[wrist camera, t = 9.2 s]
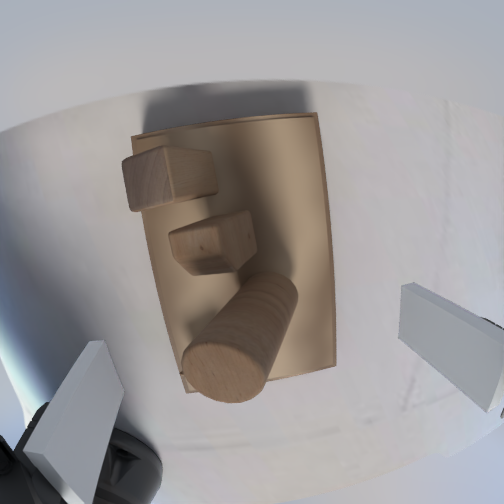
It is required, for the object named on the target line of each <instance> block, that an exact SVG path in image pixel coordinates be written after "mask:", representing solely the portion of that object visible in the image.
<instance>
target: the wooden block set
mask: <svg viewBox="0 0 504 504" xmlns="http://www.w3.org/2000/svg"><path fill="white" fill-rule="evenodd" d="M122 170H123V176H124V182H125V187H126V193H127V198H128V203H129V208H130V210H131V211H133V212H139V211H143V210H148V209H152V208H157V207H161V206H166V205H170V204H175V203H180V202H185V201H189V200H194V199H198V198H203V197H208V196H212V195H216V194H217V193H218V192H219V188H218V183H217V178H216V173H215V167H214V162H213V157H212V153H211V152H210V151H207V150H199V149H192V148H183V147H175V146H165V145H161V146H158V147H155V148H152V149H149V150H147V151H144V152H141V153H138V154H136V155H133V156H130V157H128V158H126V159H124V160H123V161H122ZM168 238H169V242H170V246H171V251H172V255H173V257H174V259H175V260H176V261H177V262H178V263H179V264H180V265H181V266H182V267H183V268H184V269H185V270H186V271H187V272H188V273H189V274H191V275H192V276H201V275H211V274H222V273H232V272H235V271H237V270H238V269H239V268H240V267H241V266H243V265H244V264H245V263H246V262H247V261H248V260H249V259H250V258H251V257H252V256H254V255H255V254H256V253H257V244H256V239H255V234H254V228H253V223H252V218H251V213H250V212H249V211H247V210H245V211H239V212H233V213H228V214H222V215H216V216H212V217H209V218H206V219H203V220H200V221H197V222H194V223H192V224H189V225H186V226H183V227H180V228H178V229H175V230H172V231H170V232H169V233H168ZM297 303H298V291H297V288H296V286H295V285H294V284H293V282H292V281H291V280H290V279H288V278H287V277H285V276H284V275H282V274H279V273H275V272H263V273H258V274H256V275H254V276H252V277H251V278H249V279H248V281H247V282H246V283H245V284H244V285H243V286H242V287H241V288H240V289H239V291H238V292H237V293H236V294H235V295H234V296H233V297H232V298H231V299H230V300H229V301H228V303H227V304H226V305H225V306H224V307H223V308H222V309H221V310H220V311H219V312H218V314H217V315H216V316H215V317H214V318H213V319H212V320H211V321H210V322H209V323H208V324H207V325H206V327H205V328H204V329H203V330H202V331H201V332H200V333H199V334H198V335H197V336H196V337H195V338H194V340H193V341H192V342H191V343H190V344H189V345H188V346H187V347H186V349H185V350H184V351H183V355H182V359H181V366H182V371H181V372H180V375H183V376H185V377H186V379H187V381H188V382H189V383H190V384H191V385H192V386H193V388H194V389H195V390H197V391H198V392H200V393H201V394H203V395H204V396H206V397H209V398H211V399H213V400H216V401H220V402H225V403H241V402H244V401H247V400H250V399H252V398H254V397H255V396H256V395H258V394H259V393H260V392H261V391H262V389H263V387H264V385H265V383H266V381H267V379H268V376H269V374H270V371H271V369H272V367H273V364H274V362H275V359H276V357H277V355H278V352H279V350H280V347H281V345H282V342H283V340H284V337H285V335H286V332H287V329H288V327H289V324H290V322H291V319H292V317H293V314H294V311H295V309H296V306H297Z"/></svg>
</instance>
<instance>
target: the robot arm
mask: <svg viewBox="0 0 504 504" xmlns="http://www.w3.org/2000/svg"><path fill="white" fill-rule="evenodd" d="M398 338H399V339H400V340H401V341H403V342H404V343H405V344H406V345H407V346H409V347H410V348H411V349H412V350H413V351H415V352H416V353H417V354H418V355H419V356H421V357H422V358H423V359H424V360H425V361H427V362H428V363H429V364H430V365H431V366H432V367H434V368H435V369H436V370H437V371H438V372H440V373H441V374H442V375H443V376H444V377H445V378H447V379H448V380H449V381H450V382H451V383H452V384H454V385H455V386H456V387H457V388H458V389H459V390H461V391H462V392H463V393H464V394H465V395H466V396H467V397H469V398H470V399H471V400H472V401H473V402H474V403H476V404H477V405H478V406H479V407H480V408H481V409H482V410H483V411H485V412H486V413H488V412H489V411H491V410H492V409H494V408H495V407H496V406H498V405H499V404H500V401H501V399H502V396H503V394H504V328H503V329H502V327H501V326H499V325H495V323H493V322H492V321H490V320H488V319H486V318H482V317H479V316H477V315H475V314H474V313H472V312H470V311H468V310H466V309H464V308H462V307H460V306H459V305H457V304H455V303H453V302H451V301H449V300H447V299H445V298H443V297H441V296H440V295H438V294H436V293H434V292H432V291H430V290H428V289H426V288H424V287H422V286H420V285H418V284H416V283H414V282H413V283H410V284H406V285H402V286H401V305H400V322H399V335H398ZM124 392H125V391H124V389H123V386H122V384H121V382H120V379H119V377H118V374H117V372H116V369H115V367H114V364H113V361H112V359H111V356H110V353H109V351H108V348H107V345H106V342H105V340H97V341H89V342H88V344H87V345H86V347H85V348H84V350H83V351H82V353H81V354H80V356H79V357H78V359H77V360H76V362H75V363H74V365H73V366H72V368H71V370H70V371H69V373H68V374H67V376H66V377H65V379H64V381H63V382H62V384H61V385H60V387H59V389H58V390H57V392H56V393H55V395H54V397H53V398H52V400H51V402H46V403H45V404H44V405H43V406H41V407H40V408H39V409H38V410H37V411H36V413H35V415H34V416H33V418H32V421H30V423H29V425H28V426H27V427H28V429H26V430H25V432H24V433H23V435H22V437H21V438H20V440H19V442H18V444H17V445H16V447H15V449H14V451H12V449H11V448H10V446H9V445H8V444H7V442H6V441H5V439H4V438H3V437H2V436H1V435H0V504H150V503H151V501H152V500H153V498H154V496H155V495H156V493H157V491H158V490H159V488H160V485H161V481H162V472H163V469H162V465H161V462H160V460H159V459H158V457H157V456H156V455H155V453H154V452H153V451H152V450H151V449H150V448H148V447H147V446H146V445H145V444H143V443H142V442H140V441H139V440H137V439H136V438H134V437H132V436H130V435H128V434H126V433H124V432H122V431H120V430H117V429H115V428H113V426H114V423H115V420H116V417H117V414H118V411H119V408H120V405H121V401H122V398H123V395H124ZM503 417H504V409H503V411H502V413H501V418H503Z"/></svg>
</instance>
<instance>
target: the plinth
mask: <svg viewBox="0 0 504 504" xmlns="http://www.w3.org/2000/svg"><path fill="white" fill-rule="evenodd" d="M131 141H132V150H133V155H136V154H138V153H141V152H144V151H147V150H149V149H152V148H155V147H158V146H161V145H165V146H175V147H183V148H192V149H199V150H207V151H210V152H211V153H212V157H213V162H214V167H215V173H216V178H217V183H218V188H219V192H218V193H217V194H216V195H212V196H208V197H203V198H198V199H194V200H189V201H185V202H180V203H175V204H170V205H166V206H161V207H157V208H152V209H148V210H143V211H141V213H142V218H143V224H144V230H145V235H146V240H147V245H148V250H149V255H150V260H151V265H152V270H153V274H154V279H155V283H156V287H157V292H158V296H159V300H160V304H161V308H162V312H163V316H164V320H165V324H166V327H167V331H168V335H169V338H170V342H171V346H172V349H173V352H174V356H175V359H176V363H177V366H178V369H179V373H180V372H181V371H182V366H181V359H182V355H183V351H184V350H185V349H186V347H187V346H188V345H189V344H190V343H191V342H192V341H193V340H194V338H195V337H196V336H197V335H198V334H199V333H200V332H201V331H202V330H203V329H204V328H205V327H206V325H207V324H208V323H209V322H210V321H211V320H212V319H213V318H214V317H215V316H216V315H217V314H218V312H219V311H220V310H221V309H222V308H223V307H224V306H225V305H226V304H227V303H228V301H229V300H230V299H231V298H232V297H233V296H234V295H235V294H236V293H237V292H238V291H239V289H240V288H241V287H242V286H243V285H244V284H245V283H246V282H247V281H248V279H249V278H251V277H252V276H254V275H256V274H258V273H263V272H275V273H279V274H282V275H284V276H285V277H287V278H288V279H290V280H291V281H292V282H293V284H294V285H295V286H296V288H297V291H298V303H297V306H296V309H295V311H294V314H293V317H292V319H291V322H290V324H289V327H288V329H287V332H286V335H285V337H284V340H283V342H282V345H281V347H280V350H279V352H278V355H277V357H276V359H275V362H274V364H273V367H272V369H271V371H270V374H269V376H268V379H267V381H266V382H268V381H273V380H278V379H283V378H288V377H292V376H297V375H301V374H306V373H310V372H314V371H318V370H322V369H326V368H330V367H334V366H336V305H335V281H334V263H333V248H332V234H331V222H330V211H329V201H328V191H327V182H326V173H325V165H324V157H323V149H322V142H321V135H320V128H319V122H318V115H317V112H315V113H292V114H277V115H264V116H253V117H244V118H235V119H227V120H219V121H212V122H205V123H198V124H192V125H186V126H180V127H174V128H169V129H164V130H159V131H154V132H149V133H144V134H140V135H135V136H131ZM245 210H247V211H249V212H250V213H251V218H252V223H253V228H254V234H255V239H256V244H257V253H256V254H255V255H254V256H252V257H251V258H250V259H249V260H248V261H247V262H246V263H245V264H244V265H243V266H241V267H240V268H239V269H238V270H237V271H235V272H232V273H222V274H211V275H201V276H192V275H191V274H189V273H188V272H187V271H186V270H185V269H184V268H183V267H182V266H181V265H180V264H179V263H178V262H177V261H176V260H175V259H174V257H173V255H172V251H171V246H170V242H169V238H168V233H169V232H170V231H172V230H175V229H178V228H180V227H183V226H186V225H189V224H192V223H194V222H197V221H200V220H203V219H206V218H209V217H212V216H216V215H222V214H228V213H233V212H239V211H245ZM180 376H181V379H182V382H183V385H184V388H185V391H186V393H195V392H198V391H197V390H195V389H194V388H193V386H192V385H191V384H190V383H189V382H188V381H187V379H186V377H185V376H183V375H180Z"/></svg>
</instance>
